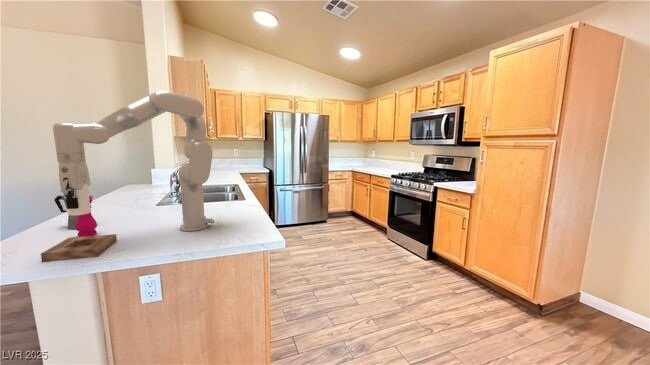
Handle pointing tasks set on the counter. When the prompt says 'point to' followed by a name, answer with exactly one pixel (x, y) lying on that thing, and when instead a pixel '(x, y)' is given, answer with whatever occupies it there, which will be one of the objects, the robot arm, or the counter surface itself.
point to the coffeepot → (71, 219)
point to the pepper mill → (86, 224)
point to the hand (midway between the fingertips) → (77, 206)
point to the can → (81, 202)
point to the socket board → (79, 248)
